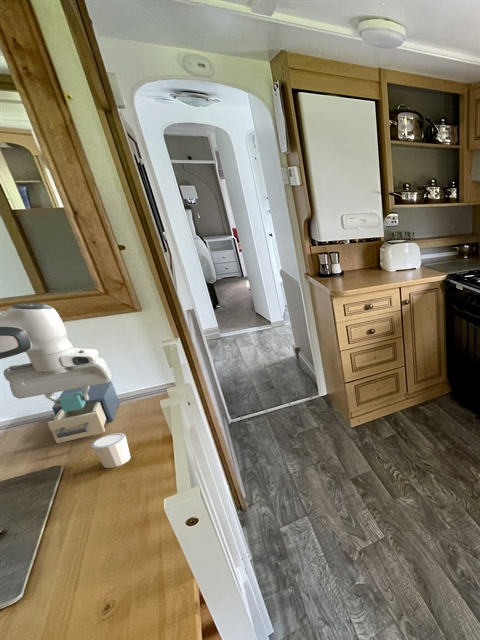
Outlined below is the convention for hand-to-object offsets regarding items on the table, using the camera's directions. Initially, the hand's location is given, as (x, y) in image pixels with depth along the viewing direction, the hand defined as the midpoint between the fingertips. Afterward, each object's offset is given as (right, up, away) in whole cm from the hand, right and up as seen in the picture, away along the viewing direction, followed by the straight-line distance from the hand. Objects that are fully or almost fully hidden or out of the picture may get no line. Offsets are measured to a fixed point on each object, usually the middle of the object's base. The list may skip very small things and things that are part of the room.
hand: (73, 402), depth 111 cm
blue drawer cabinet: (-6, -6, +12) cm, 15 cm away
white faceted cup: (+21, -15, -8) cm, 27 cm away
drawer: (0, -9, +3) cm, 10 cm away
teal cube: (0, -2, +1) cm, 2 cm away
